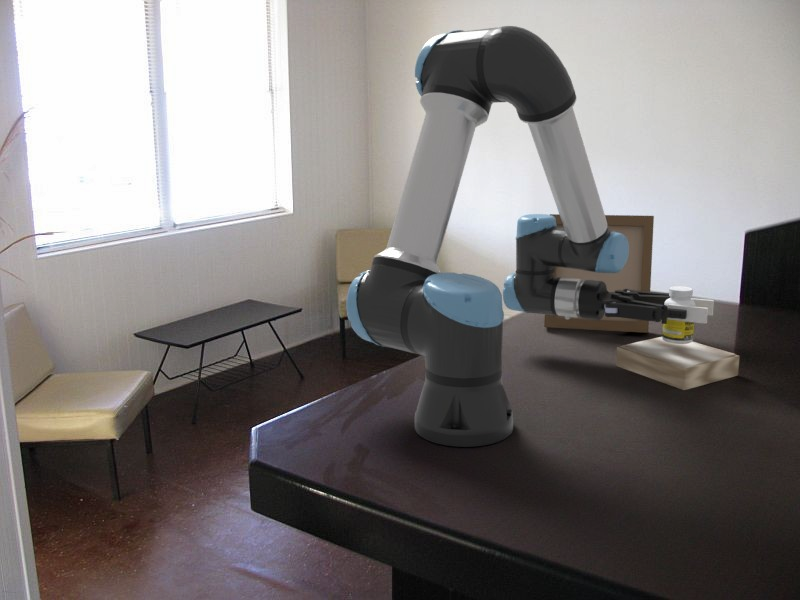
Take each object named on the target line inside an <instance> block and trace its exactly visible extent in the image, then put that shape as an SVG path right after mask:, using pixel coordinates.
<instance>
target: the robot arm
mask: <svg viewBox="0 0 800 600" xmlns="http://www.w3.org/2000/svg"><path fill="white" fill-rule="evenodd" d="M414 77H415V78H417V80H416V81H415V86H416V89H417V92H418V94H419V95H420V100H419V102H420V105H421V107H422V109H423V110H424V112H425V115H424V117H423V118H424V119H423V122H422V125H421V129H420V132H419V135H418V140H417V143H416V145H415V149H414V153H413V157H412V161H411V163H410V167H409V170H408V173H407V177H406V179H405V180H406V181H405V184H404V187H403V190H402V194H401V198H400V201H399V204H398V207H397V211H396V215H395V217H394V220H393V225H392V228H391V232H390V234H389V238H388V241H387V245H386V248H385V249H384V250H383V251H381V252H379V253H376V254H375V255H374V257H373V259H372V263H371V266H370V269H369V270H366V271H363V272H361V273H359V274H358V276H357V277H355V278H354V279H353V280H352V282H351V283H350V285H349V288H348V291H347V295H346V303H345V304H346V305H345V307H346V308H345V309H346V315H347V319H348V321H349V322H350V326H351V328H352V330H353V331H354V332H355V334H356V335H357V336H358V337H359V338H361V339H363V340H364V341H366V342H369V343H373V344H375V345H376V346H381V347H383V348H391V349H395V350H400V351H402V352H407V353H411V354H417V355H420V356H424V363H425V364H424V367H425V368H424V370H425V371H424V372H425V377H424V384H423V386H422V390H421V393H420V396H419V400H418V402H417V407H416V408H415V412H414V430H415V432H416V434H417V435H418V436H419V437H421V439H424V440H426V441H427V442H428V441H429V442H432V443H434V444H438V445H442V446H448V447H449V446H450V447H461V448H462V447H463V448H471V447H472V448H473V447H481V446H487V445H492V444H495V443H499V442H501V441H504V440H505V439H507V438H508V437H509V436H510V435H511V434H512V433H513V430H514V415H513V414H514V413H513V410H512V407H511V404H510V402H509V401H510V400H509V398H508V395H507V393H506V392H507V391H506V388H505V386H504V383H503V382H504V381H503V331H504V330H503V329H504V328H503V326H504V323H503V322H504V317H505V313H504V309H503V304H504V306H505V307H506V308H507V309H508V310H511V311H516V312H517V311H518V312H522V313H526V314H541V315H545V314H548V315H557V316H565V319H570V317H575V318H578V317H580V316H581V317H582V318H583V319H590V320H600V319H602V317H603V316H604V313H605V316H606V317H620V318H629V319H637V320H646V321H649V322H656V323H660V322H661V324H662V325H663V324H667V318H668V320H677V321H686V322H694V324H695V323H697V324H705V325H706V324H707V323H708V316H714V305H715V304H714V303H715V300H714V299H705V298H696V297H695V298H694V297H691V300H693V301H694V302H695V304H696V307H695V306H685V305H675V304H669V308H668V306H666V305H664V303H665V301H666V300H667V299H669V298H670V296H669V292H657V291H650V292H647V291H636V290H630V289H623V290H615V292H608V291H607V289H606V288H607V287H606V284H605V283H604V282H603V281H595V280H586V281H583V280H582V279H575V278H560V277H559V278H558V277H554V272H555V266H556V267H564V268H572V269H578V270H585V271H592V272H596V273H617V272H619V271H621V270H622V269H623V267H624V265H625V264H626V262H627V259H628V254H629V244H628V240H627V238H626V237H625V236H624V235H623V234H621V233H616V232H611V231H610V230H609V227H608V223H607V221H606V217H605V215H606V214H605V212H604V208H603V205H602V202H601V201H602V200H601V198H600V195H599V191H598V188H597V184H596V181H595V178H594V175H593V172H592V167H591V164H590V161H589V156H588V155H587V150H586V148H585V147H586V146H585V145H584V141H583V137H582V134H581V131H580V128H579V124H578V121H577V117H576V114H575V110H574V106H575V104H576V101H577V95H576V90H575V88H574V87H575V86H574V85H573V81H572V79H571V76H570V75H569V72H568V71H567V68H566V67H565V65H564V64H563V62H562V60H561V59H560V57H559V56H558V55H557V53H556V52H555V51H554V49H552V47H551V46H550V45H549V44H548V43H547V42H546V41H544V39H542V37H540V36H539V35H537V34H535V33H534V32H532V31H530V30H528V29H526V28H524V27H520V26H517V25H516V26H515V25H514V26H513V25H504V26H503V25H502V26H499V27H489V28H482V29H473V30H472V29H471V30H461V29H460V30H459V29H457V30H451V31H447V32H446V33H445V32H444V33H440V34H438V35H435V36H433V37H431V38H430V39H428V41H427V42H425V44H424V45H423V47H422V48H421V49H420V52H419V53H418V55H417V58H416V62H415V66H414ZM494 103H509V104H510V105H512V106H513V107H514V108H515V110H516V113H517V116H518V118H519V120H520V121H522V122H523V123H525V124H527V125H528V129H529V131H530V133H531V137H532V139H533V142H534V145H535V149H536V150H537V154H538V157H539V160H540V163H541V166H542V168H543V171H544V174H545V177H546V180H547V182H548V186H549V188H550V191H551V194H552V197H553V200H554V203H555V205H556V209H557V211H558V214H559V215H560V217H561V220H562V223H563V226H564V228H562V227H556V226H557V224H556V219H555V217H554V216H552V215H549V214H545V213H544V214H543V213H532V214H525V215H521V216H520V217H519V218H518V220H517V223H516V236H515V242H516V243H515V255H516V256H515V258H516V259H515V264H516V265H515V267H516V268H515V269H516V270H515V273H512V272H511V273H510V274H508V275H507V276H506V277H505V279H504V282H503V289H502V293H501V290H500V288H499V287H498V286H497V285H496V283H494V282H492V281H491V280H490V279H486V278H484V277H482V276H478V275H475V274H470V273H469V274H468V273H463V272H462V273H458V272H442V271H441V270H440V268H439V266H438V262H439V261H438V260H439V257H440V253H441V249H442V246H443V243H444V239H445V235H446V233H447V230H448V229H447V228H448V226H449V225H448V224H449V222H450V219H451V215H452V212H453V209H454V205H455V200H456V197H457V195H458V191H459V187H460V184H461V180H462V176H463V173H464V169H465V166H466V162H467V159H468V156H469V153H470V147H471V146H472V145H471V144H472V142H473V138H474V134H475V132H476V128H477V127H479V126H481V125H483V124H485V123H486V122H487V121H488V119H489V115H490V112H491V109H492V105H493V104H494Z"/></svg>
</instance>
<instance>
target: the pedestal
mask: <svg viewBox="0 0 800 600" xmlns="http://www.w3.org/2000/svg"><path fill="white" fill-rule="evenodd" d="M615 359H616V362H615V366H616V367H618V368H621V369H624V370H627V371H629V372H632V373H635V374H638V375H641V376H644V377H646V378H649V379H651V380H655V381H657V382H660V383H663V384H666V385H668V386H671V387H673V388H677V389H679V390H682V391H687V390H691V389H694V388H698V387H701V386H704V385H708V384H712V383H715V382H719V381H723V380H726V379H730V378H734V377H737V376H739V367H740V355H739V354H738V355H737V354H736V353H734V352H730V351H726V350H723V349H719V348H716V347H712V346H709V345H706V344H701V343H700V342H696V341H692V342H691V343H688V344H674V343H669V342H666V341H664V340H663V339H662V336H659V337H654V338H650V339H645V340H640V341H636V342H632V343H627V344H622V345H620V346H617V347H616V358H615Z"/></svg>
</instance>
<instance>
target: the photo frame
mask: <svg viewBox="0 0 800 600" xmlns="http://www.w3.org/2000/svg"><path fill="white" fill-rule="evenodd" d="M548 215H552V216H554V217H555V219H556V224H557V226H556V227H562V228H564V226H563V223H562V220H561V217H560V215H559V213H558V214H554V213H553V214H552V213H551V214H550V213H549V214H548ZM605 217H606V221H607V223H608V227H609V230H610V231H611V232H616V233H621V234H623V235H624V236H625V237H626V238H627V240H628V244H629V254H628V259H627V262H626V264H625V265H624V267H623V269H622V270H621V271H619V272H617V273H596V272H592V271H585V270H578V269H572V268H564V267H556V266H555V272H554V277H558V278H559V277H560V278H575V279H582V280H583V281H586V280H595V281H603V282H604V283H605V284H606V287H607V288H606V289H607V291H608V292H615V290H623V289H630V290H636V291H647V292H651V285H652V284H651V282H652V264H653V263H652V259H653V242H654V241H653V240H654V239H653V238H654V225H655V224H654V221H655V220H654V219H655V216H654V215H633V214H632V215H628V214H627V215H626V214H625V215H624V214H623V215H622V214H621V215H620V214H619V215H617V214H616V215H615V214H605ZM543 321H544V323H543V324H544V325H543V327H544V328H555V329H573V330H574V329H577V330H592V331H611V332H612V331H613V332H614V331H615V332H628V333H629V332H631V333H645V334H647V333H649V329H650V328H649V327H650V324H649V323H650V321H646V320H637V319H629V318H620V317H606V316H605V313H604V316H603V317H602V319H600V320H590V319H583V318H582V317H581V316H580V317H578V318H575V317H570V319H565V316H557V315H548V314H544V320H543Z"/></svg>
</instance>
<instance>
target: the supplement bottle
mask: <svg viewBox="0 0 800 600" xmlns="http://www.w3.org/2000/svg"><path fill="white" fill-rule="evenodd" d="M693 291H694V289H693V288H691V287H689V286H682V285H673V286H671V287H669V291H668V293H669V296H670V298H669V299H667V300H666V301H665V303H664V305H666V306H668V308H669V304H675V305H685V306H695V307H696V304H695V302H694V301H693V300H691V298H693V296H694V295H693ZM661 329H662V331H661V337H662V339H663V340H664V341H666V342H669V343H674V344H688V343H691V342H692V341H693V340H694V333H695V332H694V331H695V330H694V329H695V322H686V321H677V320H668V318H667V324H662V328H661ZM693 342H694V341H693Z"/></svg>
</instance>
